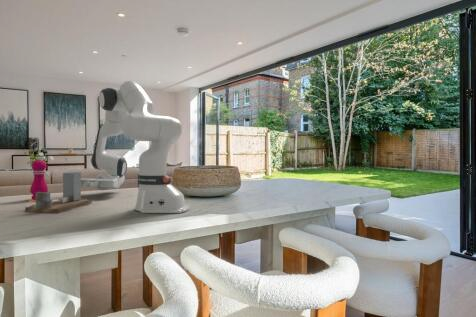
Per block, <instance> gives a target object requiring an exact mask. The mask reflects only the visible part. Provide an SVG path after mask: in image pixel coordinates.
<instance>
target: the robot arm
mask: <svg viewBox="0 0 476 317" xmlns="http://www.w3.org/2000/svg"><path fill="white" fill-rule="evenodd" d="M98 101H99V105H100V107H101V109H103V110H104V111H105V116H104V122H103V124H101V125H100V126H99V127H98V130H97V134H96V138H95V144H94V148H93V149H94V150H93V153H92V156H91V159H90V163H91V165H92V167H93V169H95V170H99V171H104V172H100V173H98V174H97V175H95V177H81V187H85V188H86V187H89V188H91V187H92V188H94V187H95V188H97V189H98V190H99V191H105V190H106V191H107V190H111V189H119V188H120V186H121V185H123V184H124V182H125V179H126V178H125V175H126V172H127V170H128V163H127V160H126V158H125V157H124V156H121V155H117V154H112V153H108V152H106V145H107V140H108V138H109V137H116V136H119V135H122V134H123V135H124V136H125V138H126V139H128V140H133V141H137V142H150V146H149V147H148V149H146V150H145V151H143V152H142V153H141V154H140V156H139V157H138V175H137V197H136V202H135V206H134V210H135V211H137V212H140V213H142V214H146V213H147V214H180V213H185V212H187V211H189V210H191V207H190V204H186V202H185V196H184V193H182V192H181V191H180V190H179V189H178V188H177V187H175V186H173V184H172V183H171V182H172V178H173V177H172V176H170V175H168V174H167V167H168V166H167V163H168V155H169V151H170V149H171V147H172V146H173V144H174V143H176V141H177V140H178V139H179V138H180V136H181V135H182V132H183V128H182V123H181V121H180V120H179V119H178V118H175V117H172V116H168V115H159V114H154V111H155V105H154V103H153V102H152V99H151V98H150V97H149V94H147V92H146V91H145V90H144V88H143V87H142V86H141V85H140V84H139V83H138V82H137V81H134V80H126V81H124V82H123V83H122V84H120V86H119V87H112V88H111V87H106V88H103V89H101V91H100V92H99V96H98Z"/></svg>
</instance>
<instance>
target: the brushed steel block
mask: <svg viewBox="0 0 476 317" xmlns="http://www.w3.org/2000/svg"><path fill="white" fill-rule="evenodd" d="M81 178H82V173H81V172H80V171H79V172H77V171H69V172H63V173H62V196H61V197H58V198H57V200H58V203H65V202H68V201H76V200H82V189H81V188H82V186H81Z"/></svg>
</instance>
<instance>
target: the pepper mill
mask: <svg viewBox="0 0 476 317" xmlns="http://www.w3.org/2000/svg"><path fill="white" fill-rule="evenodd" d="M31 168H32V174H33V180H32V181H33V182H32V183H31V186H30V189H29V190H30V191H29V192H30V194H32V195H31V198H30V200H36V192H49V187H48V185H47V182H46V179H45V174H46V169H47V163H46V161H44V160H42V157H40V156H37V158H36V160H35V161H33V162H32V163H31Z"/></svg>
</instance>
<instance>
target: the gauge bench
mask: <svg viewBox="0 0 476 317" xmlns="http://www.w3.org/2000/svg"><path fill="white" fill-rule="evenodd" d="M50 200H51V192H49V191H48V192H36V202H35V204H33V205H29V206H26V207H24V212H27V213H28V212H29V213H30V212H31V213H50V214H51V213H52V214H59V213H63V212H66V211H67V212H68V211H71V210H75V209H76V208H77V209H78V208H81V207H84V206H88V205H91V204H93V203H92V201H93V200H92V199H80V200H76V201H68V202H65V203H58V199H54V200H52V206H50Z"/></svg>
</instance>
